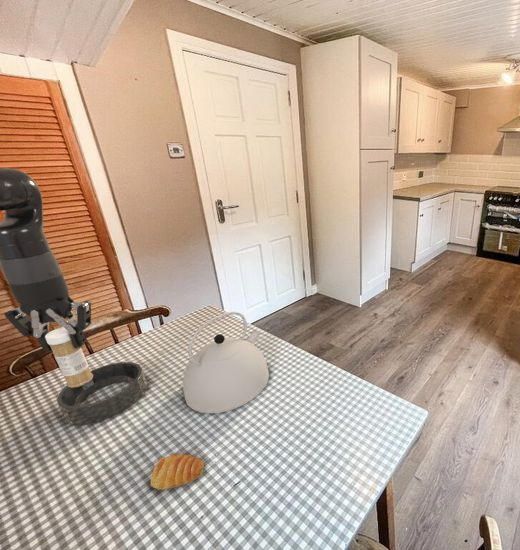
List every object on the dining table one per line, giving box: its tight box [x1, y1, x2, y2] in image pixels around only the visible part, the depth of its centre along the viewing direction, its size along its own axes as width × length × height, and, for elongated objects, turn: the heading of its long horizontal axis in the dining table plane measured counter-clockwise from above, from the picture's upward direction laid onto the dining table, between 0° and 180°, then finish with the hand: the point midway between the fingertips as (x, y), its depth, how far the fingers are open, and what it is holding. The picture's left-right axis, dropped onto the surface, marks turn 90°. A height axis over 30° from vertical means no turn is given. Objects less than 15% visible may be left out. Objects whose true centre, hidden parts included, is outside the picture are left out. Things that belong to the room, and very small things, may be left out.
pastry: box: [150, 453, 205, 491], centre depth 63 cm, size 9×7×4 cm
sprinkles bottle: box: [45, 327, 93, 387], centre depth 67 cm, size 5×5×14 cm
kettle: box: [182, 311, 270, 414], centre depth 86 cm, size 25×23×22 cm
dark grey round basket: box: [56, 361, 148, 426], centre depth 82 cm, size 18×18×6 cm
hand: (66, 347), depth 66 cm, fingers closed on sprinkles bottle, 4 cm apart
